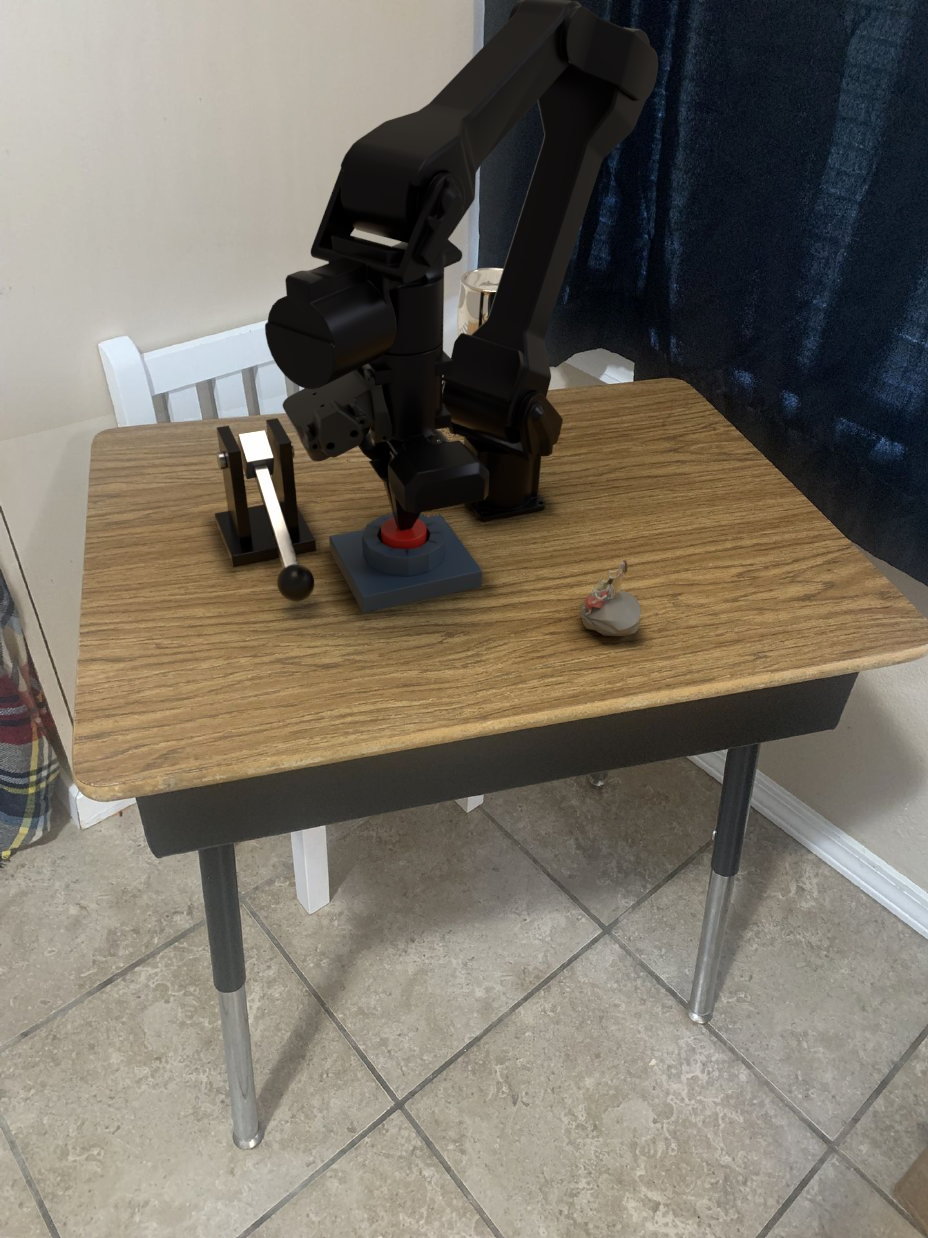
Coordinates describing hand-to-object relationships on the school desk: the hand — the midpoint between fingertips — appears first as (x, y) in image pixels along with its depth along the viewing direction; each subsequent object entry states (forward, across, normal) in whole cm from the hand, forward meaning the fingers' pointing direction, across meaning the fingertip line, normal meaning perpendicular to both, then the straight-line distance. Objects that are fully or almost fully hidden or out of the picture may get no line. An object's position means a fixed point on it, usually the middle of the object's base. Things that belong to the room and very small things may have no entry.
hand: (404, 527), depth 78 cm
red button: (+2, 0, 0) cm, 2 cm away
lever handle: (0, -4, -10) cm, 10 cm away
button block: (+4, 0, 0) cm, 4 cm away
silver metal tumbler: (+4, -22, +17) cm, 28 cm away
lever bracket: (+4, -8, -10) cm, 13 cm away
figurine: (+4, +12, +12) cm, 18 cm away
